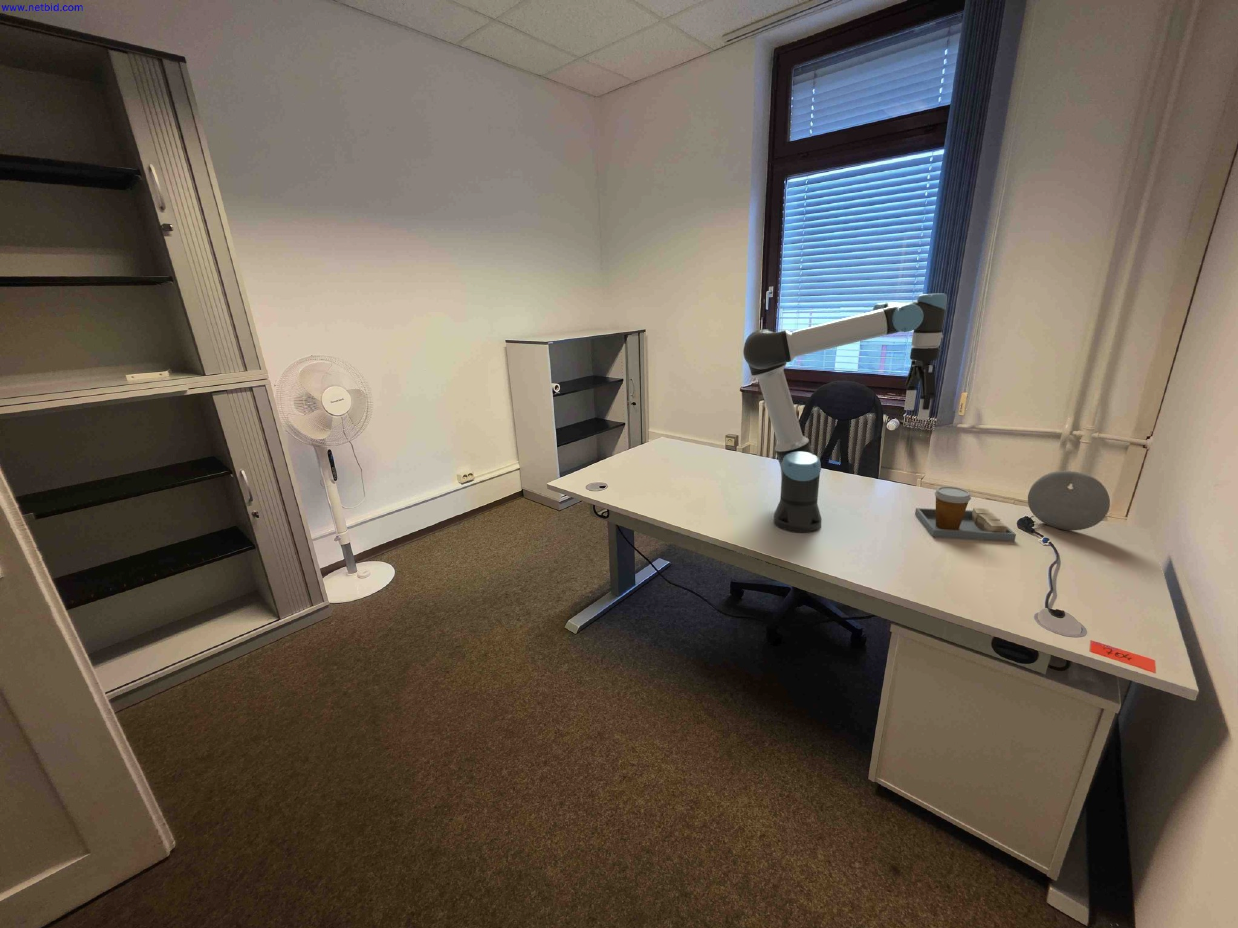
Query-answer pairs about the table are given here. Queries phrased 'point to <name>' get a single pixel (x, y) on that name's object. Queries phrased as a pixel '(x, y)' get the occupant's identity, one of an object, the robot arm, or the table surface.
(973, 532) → the tray
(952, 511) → the disposable coffee cup
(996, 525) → the block
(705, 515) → the table surface
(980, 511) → the block
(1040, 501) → the dark grey disc
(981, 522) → the block
